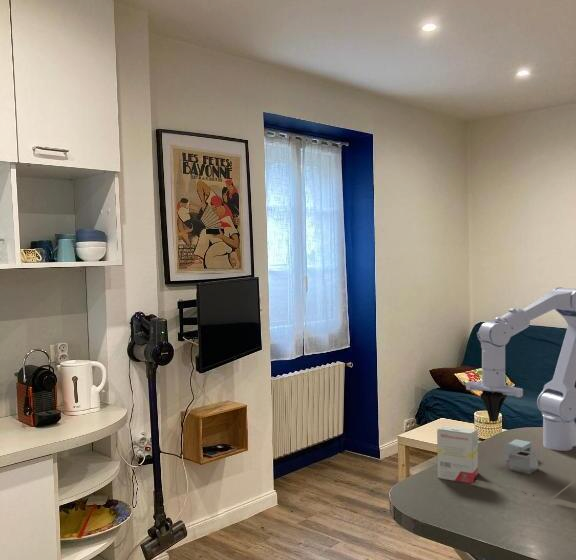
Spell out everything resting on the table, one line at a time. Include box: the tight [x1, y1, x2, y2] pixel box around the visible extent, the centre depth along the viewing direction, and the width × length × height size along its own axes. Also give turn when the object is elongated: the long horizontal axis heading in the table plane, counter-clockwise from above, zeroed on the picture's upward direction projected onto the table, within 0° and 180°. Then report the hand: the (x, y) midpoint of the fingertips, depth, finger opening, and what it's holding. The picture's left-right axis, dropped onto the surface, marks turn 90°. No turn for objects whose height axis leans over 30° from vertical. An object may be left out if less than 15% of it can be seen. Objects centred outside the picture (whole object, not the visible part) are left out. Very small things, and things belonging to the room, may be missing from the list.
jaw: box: [508, 449, 539, 475], centre depth 146 cm, size 5×5×4 cm
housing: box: [505, 438, 533, 462], centre depth 154 cm, size 6×4×4 cm, turn 136°
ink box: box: [436, 424, 479, 485], centre depth 144 cm, size 9×5×12 cm, turn 57°
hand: (493, 420), depth 158 cm, fingers closed
